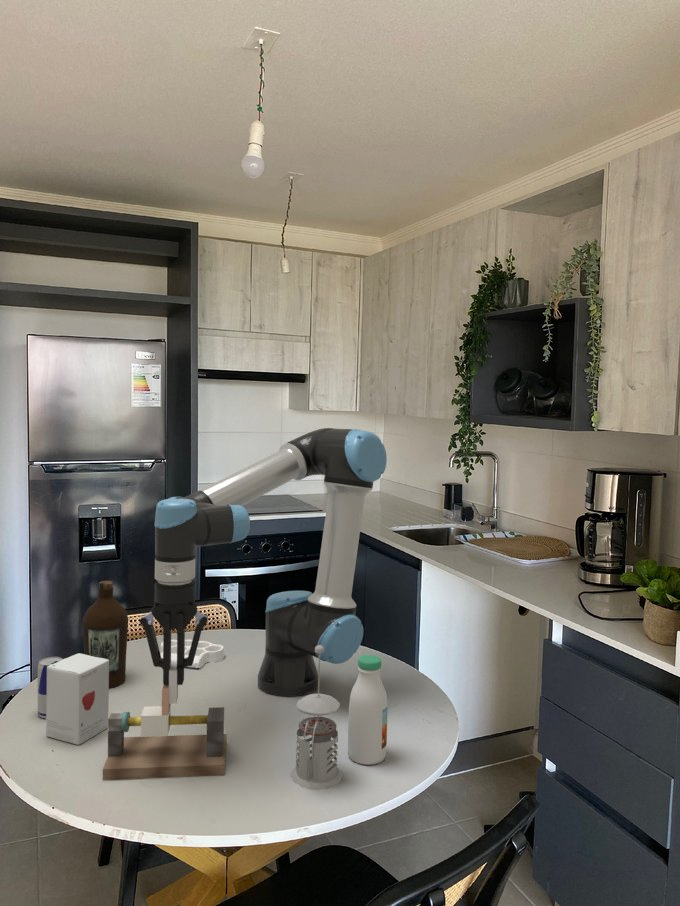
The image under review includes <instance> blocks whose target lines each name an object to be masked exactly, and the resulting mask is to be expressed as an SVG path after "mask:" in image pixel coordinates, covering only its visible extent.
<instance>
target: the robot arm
mask: <svg viewBox="0 0 680 906" xmlns="http://www.w3.org/2000/svg"><path fill="white" fill-rule="evenodd" d="M387 456H388V455H387V451H386V447H385V444H384V443H383V442H382V439H381V438H380V437H379V436H378V435H377V434H376V433H374V432H372V431H369V430H362V429H357V428H356V429H354V428H353V429H351V428H333V427H332V428H331V427H324V428H319V429H315V430H312V431H310V432H308V433H304V434H302V435H300V436H298V437H297V438H294V439H291V440H290V441H287V442H285V443H284V444H282V445H281V446H280V447H279V451H277V452H274V453H273V454H270V455H269V456H266V457H264V458H263V459H260V460H258V461H257V462H254V463H252V464H250V465H249V466H247V467H244V468H242V469H240V470H238V471H236V472H234V473H232V474H230V475H228V476H226V477H224V478H222V479H220V480H217V481H216V482H214V483H212V484H210V485H208V486H205V487H204V488H202V489H200V490H197V491H195V492H193V493H190V494H189V495H186V496H171V497H169V498H167V499H161V500H160V501H159V502H157V504H156V508H155V509H156V510H155V515H154V516H155V517H154V529H155V530H154V556H155V557H154V579H155V580H156V581H155V583H154V600H153V605H152V608H151V611H150V612H148V613H147V614H142V616H141V617H140V619H139V624H140V625H141V626H142V628H143V630H144V631H145V636H146V640H147V644H148V647H149V652H150V656H151V661H152V664H153V666H154V667H156V668H161V669H162V672H163V673H162V684H163V685H169V704H171V705H173V704H174V705H176V704H178V700H179V686H182V685H183V684H184V680H185V668H188V667H187V666H192V664H193V661H194V657H195V654H196V650H197V646H198V642H199V641H200V639H201V635H202V631H203V629H204V627H205V626H206V625H207V623H208V619H209V615H208V614H207V613H202V612H200V611H199V610H198V606H197V604H196V599H195V598H196V595H195V594H196V582H195V581H194V580H195V578H196V554H197V553H196V552H197V551H196V549H197V548H198V547H199V548H201V547H205V546H206V547H208V546H215V545H222V544H232V543H236V542H240V541H242V540H244V539H246V537H247V536H248V535H249V532H250V528H251V525H250V524H251V519H250V516H249V513H248V511H247V509H246V508H245V507H244V506H245V505H247V504H249V503H251V502H253V501H254V500H256V499H258V498H260V497H262V496H264V495H266V494H268V493H270V492H271V491H273V490H275V489H277V488H279V487H282V486H283V485H285V484H286V483H288V482H291V481H292V480H294V481H301V480H303V479H305V478H307V477H311V476H317V475H318V476H324V478H323V484H324V486H325V487H326V488H327V490H328V495H327V502H326V511H325V517H324V524H323V525H324V526H323V531H322V540H321V545H320V546H321V547H320V553H319V561H318V568H317V573H316V574H317V576H316V581H315V590H314V592H313V593H312V592H311V591H308V590H287V591H281V592H277V593H273V594H272V595H271V594H270V595H269V597H268V598H267V600H266V607H265V611H264V613H265V652H264V657H263V659H262V662H261V665H260V667H259V670H258V674H257V687H258V688H259V690H261V691H263V692H264V693H266V694H269V695H273V696H278V697H297V696H301V695H302V696H303V695H308V694H309V693H311V692H313V691H315V690H316V689H318V675H319V671H318V669H317V665H316V663H315V660H314V658H316V659H318V660H319V653H316V652H315V647H316V646H317V645H322V646H323V647H324V649H325V651H324V653H320V661H322V662H327V663H331V664H334V665H339V664H343V663H345V662H347V661H349V660H350V659H351V658H352V656H353V655H354V654H356V653H357V651H358V650H359V648H360V646H361V643H362V641H363V637H364V627H363V624H362V620H360V618H359V617H358V616H357V615H356V612H357V604H356V602H355V600H354V599H353V598H352V592H353V585H354V577H355V571H356V563H357V556H358V549H359V542H360V541H359V540H360V534H361V527H362V521H363V520H362V519H363V512H364V505H365V498H366V496H367V494H369V493H370V492H371V491H372V490H373V488H374V487H373V486H374V482H376V481H378V480H379V479H381V477H382V475H383V474H384V473H385V471H386V468H387V461H388V459H387ZM193 618H195V619H194V623H195V629H194V633H193V637H192V639H191V640H192V644H191V647H190V651H189V655H188V657H187V658H185V640H186V639H185V638H186V635H185V634H186V628H187V626H188V625H189V624H190V622H191V621H192V620H193ZM155 620H156V621H157V623H158V624H159V625H160V627H161V628H162V635H163V636H162V637H163V638H162V639H163V641H162V642H163V658H161V655H160V654H161V650H160V647H159V644H158V643H159V642H158V638H157V634H156V632H155V627H154V622H155ZM172 630H176V636H177V637H176V640H177V665H171V640H172Z"/></svg>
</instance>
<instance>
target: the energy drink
mask: <svg viewBox="0 0 680 906" xmlns="http://www.w3.org/2000/svg"><path fill="white" fill-rule="evenodd" d="M63 659H64V658H62V657H60V656H49V657H44V658H42V659H39V661H38V665H37V716H38V717H39V718H40V717H41V719H43V718H44V719H45V720H46V705H47V666H50V665H52V664H54V663H57V662H59V661H61V660H63Z"/></svg>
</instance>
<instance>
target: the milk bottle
mask: <svg viewBox="0 0 680 906" xmlns="http://www.w3.org/2000/svg"><path fill="white" fill-rule="evenodd" d="M357 665H358V666H357V669H358V675H357V678H356V681H355V682H354V685H353V686H352V689H351V691H350V696H349V704H348V705H349V706H348V729H347V731H348V732H347V755H348V757H349V759H350V760H351V761H352V762H355V763H357V764H360V765H369V766H370V765H377V764H380V763H382V762H383V761H384V760H385V758H386V756H387V743H388V742H387V739H388V738H387V736H388V696H387V695H388V694H387V691H386V688H385V686H384V684H383V682H382V677H381V673H380V672H381V670H382V659H381V657H379V656H377V655H373V654H363V655H361V656H359V657H358V661H357Z"/></svg>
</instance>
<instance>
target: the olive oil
mask: <svg viewBox="0 0 680 906" xmlns="http://www.w3.org/2000/svg"><path fill="white" fill-rule="evenodd" d="M90 605H91V604H90ZM128 630H129V616H128V613H127V610H126V608H125V607H124V606H123V605H122V604H121V603H120V602H119V601H118V600H117V599H115V597H114V587H113V581H112V580H102V581H100V582H99V583H98V597H97V599H96V600H95V601H94V602H93V603H92V605H91V606H89V608H88V609H87V610H86V611H85V613H84V615H83V617H82V637H83V638H82V639H83V654H85V655H89V656H93V657H98V658H104V659H108V660H109V689H114V688H116V687H118V686H120V685H123V684H124V682H126V670H127V667H126V666H127V646H128V645H127V644H128Z"/></svg>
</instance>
